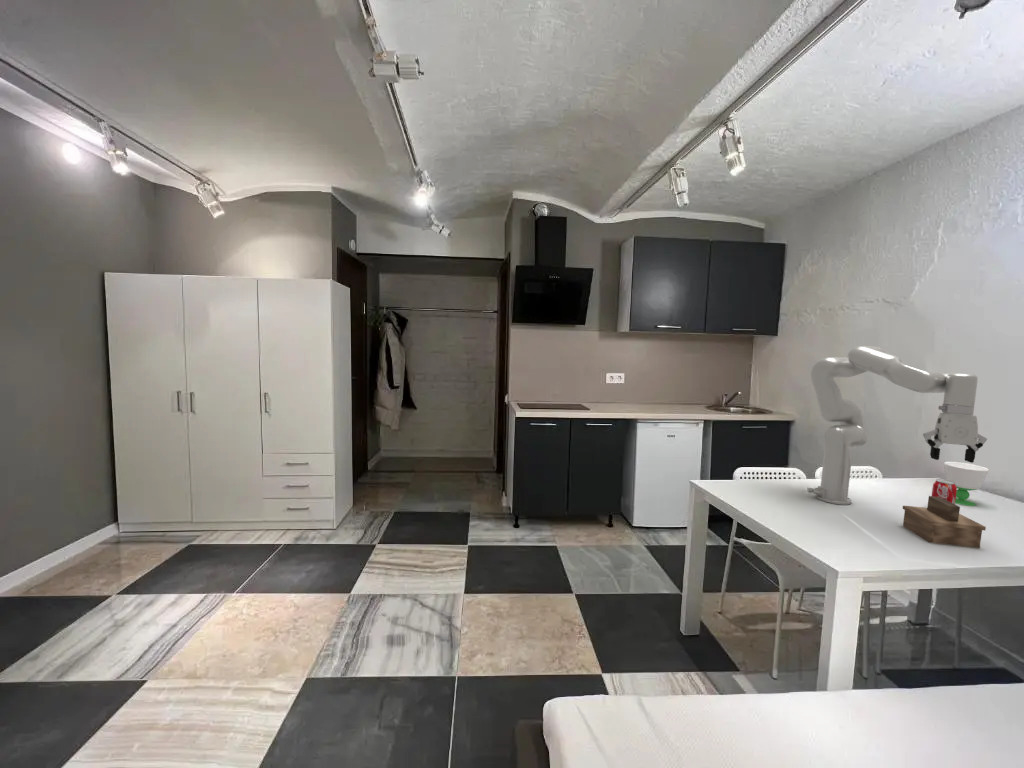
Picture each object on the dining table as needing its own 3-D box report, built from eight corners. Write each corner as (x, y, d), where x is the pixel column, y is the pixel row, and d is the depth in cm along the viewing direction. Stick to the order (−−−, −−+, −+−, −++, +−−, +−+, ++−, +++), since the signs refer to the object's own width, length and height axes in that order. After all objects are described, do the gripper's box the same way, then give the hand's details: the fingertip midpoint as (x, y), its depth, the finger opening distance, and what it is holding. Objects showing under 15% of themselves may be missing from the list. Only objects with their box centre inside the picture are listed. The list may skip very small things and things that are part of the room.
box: (928, 545, 152) (931, 524, 151) (902, 528, 165) (904, 509, 165) (979, 550, 149) (982, 529, 148) (948, 533, 162) (951, 513, 162)
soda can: (958, 514, 182) (962, 484, 181) (937, 512, 183) (941, 483, 182) (945, 508, 189) (949, 479, 187) (925, 506, 190) (929, 477, 189)
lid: (930, 527, 151) (933, 506, 150) (902, 511, 165) (904, 491, 165) (984, 533, 148) (988, 511, 147) (951, 516, 162) (954, 496, 162)
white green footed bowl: (938, 494, 207) (942, 459, 205) (981, 502, 198) (986, 466, 197) (940, 502, 196) (945, 465, 195) (986, 510, 188) (991, 472, 186)
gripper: (934, 410, 153) (928, 460, 155) (997, 413, 149) (991, 465, 151) (920, 407, 161) (914, 455, 162) (980, 410, 156) (974, 460, 158)
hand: (951, 460), depth 156 cm, fingers open, 9 cm apart
